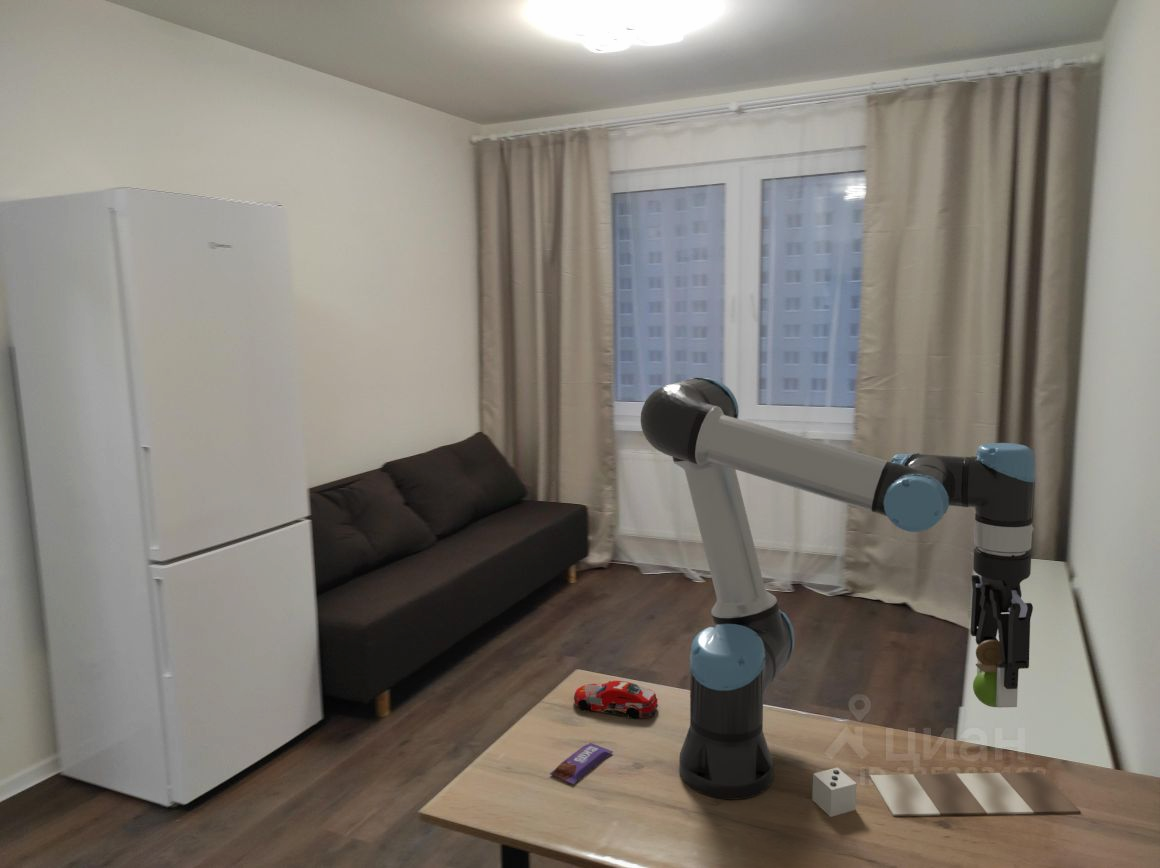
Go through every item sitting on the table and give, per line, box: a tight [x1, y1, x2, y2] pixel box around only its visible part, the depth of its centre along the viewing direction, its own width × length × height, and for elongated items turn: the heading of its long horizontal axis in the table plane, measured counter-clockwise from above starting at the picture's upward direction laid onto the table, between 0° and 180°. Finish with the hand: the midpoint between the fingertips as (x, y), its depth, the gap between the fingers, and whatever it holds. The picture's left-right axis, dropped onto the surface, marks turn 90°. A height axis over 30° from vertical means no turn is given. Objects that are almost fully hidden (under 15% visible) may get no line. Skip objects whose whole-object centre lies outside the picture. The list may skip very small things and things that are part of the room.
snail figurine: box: [972, 639, 1001, 708], centre depth 121 cm, size 5×6×12 cm
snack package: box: [549, 742, 614, 785], centre depth 135 cm, size 12×2×5 cm
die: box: [811, 767, 858, 818], centre depth 123 cm, size 4×4×5 cm
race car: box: [573, 680, 659, 720], centre depth 153 cm, size 16×7×5 cm, turn 69°
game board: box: [869, 771, 1081, 817], centre depth 125 cm, size 28×10×1 cm, turn 90°
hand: (996, 695), depth 122 cm, fingers closed on snail figurine, 5 cm apart
